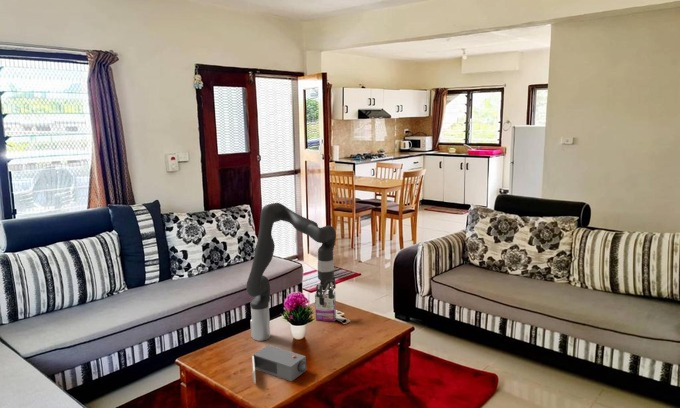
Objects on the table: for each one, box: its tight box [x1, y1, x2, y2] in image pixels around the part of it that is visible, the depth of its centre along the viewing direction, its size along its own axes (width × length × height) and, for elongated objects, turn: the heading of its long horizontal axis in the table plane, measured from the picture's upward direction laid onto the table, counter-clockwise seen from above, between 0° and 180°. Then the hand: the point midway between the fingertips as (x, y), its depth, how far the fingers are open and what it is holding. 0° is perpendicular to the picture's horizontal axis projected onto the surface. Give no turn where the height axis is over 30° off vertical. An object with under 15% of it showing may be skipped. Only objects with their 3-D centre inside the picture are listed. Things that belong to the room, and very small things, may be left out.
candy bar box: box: [314, 290, 337, 322], centre depth 275 cm, size 11×5×16 cm, turn 80°
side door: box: [251, 354, 257, 385], centre depth 215 cm, size 14×1×6 cm, turn 12°
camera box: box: [252, 344, 308, 382], centre depth 221 cm, size 24×11×8 cm, turn 57°
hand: (326, 301), depth 226 cm, fingers open, 8 cm apart
